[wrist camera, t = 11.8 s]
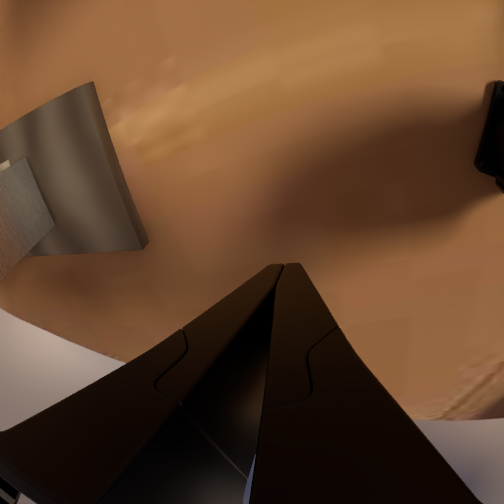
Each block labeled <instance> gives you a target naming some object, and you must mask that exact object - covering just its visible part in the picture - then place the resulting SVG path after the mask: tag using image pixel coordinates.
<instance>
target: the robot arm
mask: <svg viewBox="0 0 504 504" xmlns="http://www.w3.org/2000/svg"><path fill="white" fill-rule="evenodd" d="M502 85H503V91H501V90H500V87H501V86H502ZM481 162H483V165H482V166H480V163H481ZM474 165H475V167H476V169H477V170H478V171H480V172H482V173H485V174H488V175H491V176H493V177H496V181H495V183H496V185H497V187H498V188H499V189H500V190H501V191H502V192H503V193H504V81H500V80H499V81H497V82H496V83H495V85H494V90H493V95H492V99H491V104H490V108H489V112H488V116H487V120H486V124H485V128H484V131H483V135H482V138H481V142H480V145H479V149H478V152H477V155H476V158H475V162H474ZM255 454H256V457H255ZM254 457H255V464H254V472H253V479H252V486H251V493H250V499H249V504H483V503H482V502H480V501H479V500H478V499H477V498H476V497H475V495H474V494H473V493H472V492H471V490H470V489H469V488H468V487H467V486H466V484H465V483H464V482H463V481H462V479H461V478H460V477H459V476H458V475H457V473H456V472H455V471H454V470H453V469H452V467H451V466H450V465H449V464H448V463H447V461H446V460H445V459H444V458H443V456H442V455H441V454H440V453H439V452H438V451H437V450H436V448H435V447H434V446H433V445H432V443H431V442H430V441H429V440H428V439H427V437H426V436H425V435H424V434H423V433H422V431H421V430H420V429H419V428H418V427H417V426H416V424H415V423H414V422H413V421H412V419H411V418H410V417H409V416H408V415H407V413H406V412H405V411H404V410H403V409H402V408H401V406H400V405H399V404H398V403H397V402H396V400H395V399H394V398H393V397H392V396H391V395H390V393H389V392H388V391H387V390H386V389H385V387H384V386H383V385H382V384H381V383H380V382H379V380H378V379H377V378H376V377H375V376H374V375H373V373H372V372H371V371H370V370H369V369H368V367H367V366H366V365H365V364H364V362H363V361H362V360H361V358H360V357H359V356H358V355H357V353H356V352H355V351H354V349H353V347H352V346H351V344H350V343H349V341H348V340H347V338H346V337H345V335H344V333H343V332H342V330H341V329H340V328H339V326H338V324H337V322H336V321H335V319H334V317H333V316H332V314H331V312H330V311H329V309H328V307H327V306H326V304H325V302H324V301H323V299H322V297H321V296H320V294H319V293H318V291H317V289H316V288H315V286H314V284H313V283H312V281H311V279H310V278H309V276H308V275H307V273H306V271H305V270H304V268H303V266H302V265H301V264H300V263H287V264H285V265H284V264H270V265H268V266H267V267H265V268H264V269H263V270H261V271H260V272H259V273H257V274H256V275H255V276H253V277H252V278H251V279H249V280H248V281H246V282H245V283H244V284H242V285H241V286H240V287H238V288H237V289H235V290H234V291H233V292H231V293H230V294H229V295H227V296H226V297H224V298H223V299H222V300H220V301H219V302H218V303H216V304H215V305H213V306H212V307H211V308H209V309H208V310H207V311H205V312H204V313H202V314H201V315H200V316H198V317H197V318H195V319H194V320H193V321H191V322H190V323H188V324H187V325H186V326H184V327H183V330H182V329H179V330H178V331H176V332H175V333H174V334H172V335H171V336H169V337H168V338H166V339H165V340H163V341H162V342H160V343H159V344H157V345H156V346H154V347H153V348H151V349H150V350H148V351H147V352H145V353H143V354H142V355H140V356H138V357H137V358H135V359H133V360H132V361H130V362H128V363H127V364H125V365H123V366H121V367H120V368H118V369H116V370H115V371H113V372H111V373H109V374H108V375H106V376H104V377H102V378H101V379H99V380H97V381H95V382H94V383H92V384H90V385H88V386H86V387H85V388H83V389H81V390H79V391H78V392H76V393H74V394H72V395H70V396H69V397H67V398H65V399H63V400H61V401H60V402H58V403H56V404H54V405H52V406H51V407H49V408H47V409H45V410H43V411H41V412H40V413H38V414H36V415H34V416H33V417H30V418H28V419H27V420H25V421H23V422H21V423H19V424H17V425H15V426H14V427H12V428H10V429H8V430H5V431H1V432H0V504H243V497H244V492H245V487H246V484H247V479H248V477H249V474H250V471H251V467H252V464H253V461H254Z"/></svg>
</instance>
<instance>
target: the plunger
mask: <svg viewBox="0 0 504 504" xmlns="http://www.w3.org/2000/svg"><path fill="white" fill-rule="evenodd" d="M54 226H55V224H54V222H53V219H52V217H51V215H50V213H49V211H48V209H47V207H46V204H45V202H44V200H43V198H42V195H41V193H40V191H39V188H38V186H37V184H36V181H35V179H34V177H33V174H32V172H31V169H30V167H29V164H28V161H27V159H26V158H23V159H21V160H19V161H17V162H15V163H13V164H11V165H9V166H8V167H6V168H5V169H3V170H2V171H0V282H1V281H2V280H3V279H4V278H5V276H6V275H7V274H8V273H9V272H10V271H11V270H12V269H13V268H14V266H15V265H16V264H17V263H18V262H19V261H20V260H21V259H22V258H23V257H24V256H25V255H26V254H27V253H28V252H29V251H30V250H31V249H32V248H33V247H34V246H35V245H36V244H37V243H38V241H39V240H41V239H42V238H43V237H44V236H45V235H46V234H47V233H48V232H49V231H50V230H51V229H52V228H53V227H54Z"/></svg>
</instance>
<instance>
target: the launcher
mask: <svg viewBox="0 0 504 504" xmlns="http://www.w3.org/2000/svg"><path fill="white" fill-rule="evenodd" d="M23 158H26V159H27V161H28V164H29V167H30V169H31V172H32V174H33V177H34V179H35V181H36V184H37V186H38V188H39V191H40V193H41V195H42V198H43V200H44V202H45V204H46V207H47V209H48V211H49V213H50V215H51V217H52V219H53V222H54V224H55V226H54V227H53V228H52V229H51V230H50V231H49V232H48V233H47V234H46V235H45V236H44V237H43V238H42V239H41V240H39V241H38V243H37V244H36V245H35V246H34V247H33V248H32V249H31V250H30V251H29V252H28V253H27V254H26V255H25V256H24V257H30V256H46V255H62V254H79V253H97V252H114V251H132V250H143V249H144V248H145V246H146V245H147V243H148V242H149V241H148V238H147V236H146V233H145V231H144V228H143V226H142V223H141V221H140V218H139V216H138V213H137V211H136V208H135V205H134V203H133V200H132V198H131V195H130V192H129V189H128V187H127V184H126V181H125V179H124V176H123V173H122V170H121V167H120V165H119V162H118V159H117V156H116V153H115V150H114V147H113V144H112V141H111V138H110V135H109V132H108V129H107V126H106V123H105V119H104V116H103V113H102V110H101V106H100V103H99V100H98V96H97V93H96V89H95V86H94V82H89V83H86V84H83V85H81V86H79V87H77V88H75V89H73V90H71V91H69V92H67V93H65V94H63V95H61V96H59V97H57V98H55V99H53V100H51V101H49V102H47V103H45V104H44V105H42V106H40V107H38V108H36V109H35V110H33V111H31V112H29V113H28V114H26V115H24V116H23V117H21V118H19V119H18V120H16V121H14V122H13V123H11V124H9V125H8V126H6V127H5V128H3V129H2V130H0V171H2V170H3V169H5V168H6V167H8V166H9V165H11V164H13V163H15V162H17V161H19V160H21V159H23Z"/></svg>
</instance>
